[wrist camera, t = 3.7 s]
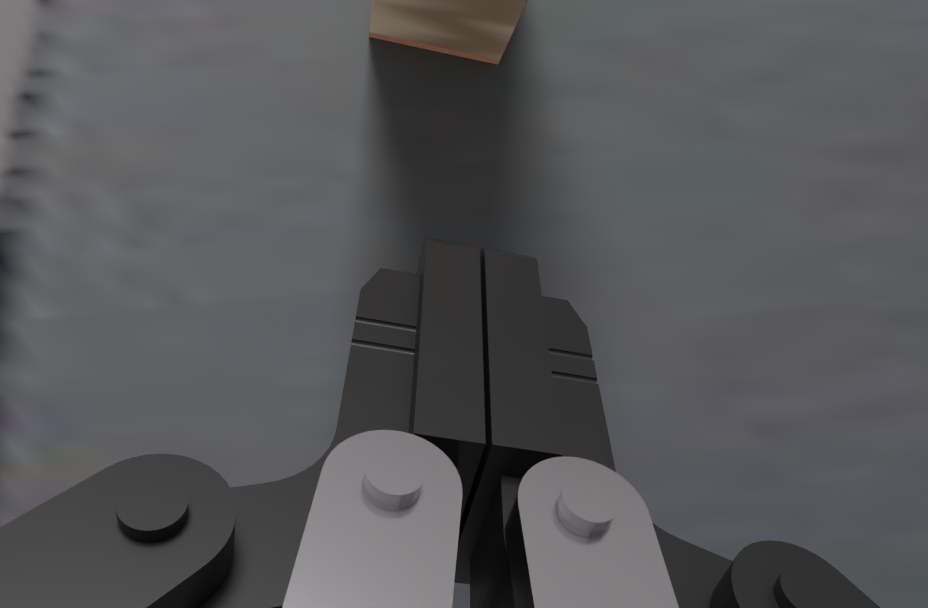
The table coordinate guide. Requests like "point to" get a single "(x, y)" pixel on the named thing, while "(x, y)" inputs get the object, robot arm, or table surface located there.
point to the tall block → (448, 25)
